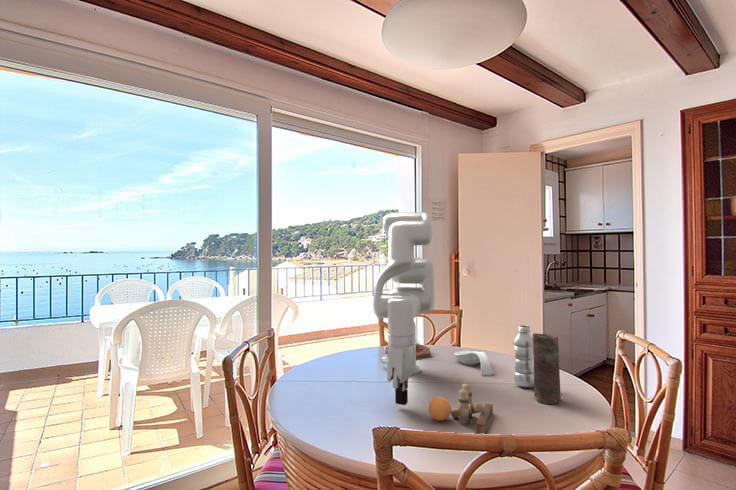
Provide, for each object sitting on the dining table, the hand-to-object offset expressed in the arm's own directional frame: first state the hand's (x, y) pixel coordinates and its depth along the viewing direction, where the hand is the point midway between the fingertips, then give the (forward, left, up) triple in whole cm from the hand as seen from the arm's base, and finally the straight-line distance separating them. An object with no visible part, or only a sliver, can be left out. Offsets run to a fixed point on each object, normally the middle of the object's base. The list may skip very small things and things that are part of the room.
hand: (401, 403), depth 116 cm
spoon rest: (+12, +51, -2) cm, 52 cm away
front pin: (+15, 0, 0) cm, 15 cm away
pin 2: (+18, -2, -2) cm, 19 cm away
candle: (+38, +24, -2) cm, 45 cm away
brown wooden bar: (+24, 0, -2) cm, 24 cm away
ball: (+12, -3, +2) cm, 13 cm away
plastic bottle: (+31, +34, -2) cm, 46 cm away
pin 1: (+18, +3, -2) cm, 19 cm away
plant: (-19, +58, -2) cm, 61 cm away
